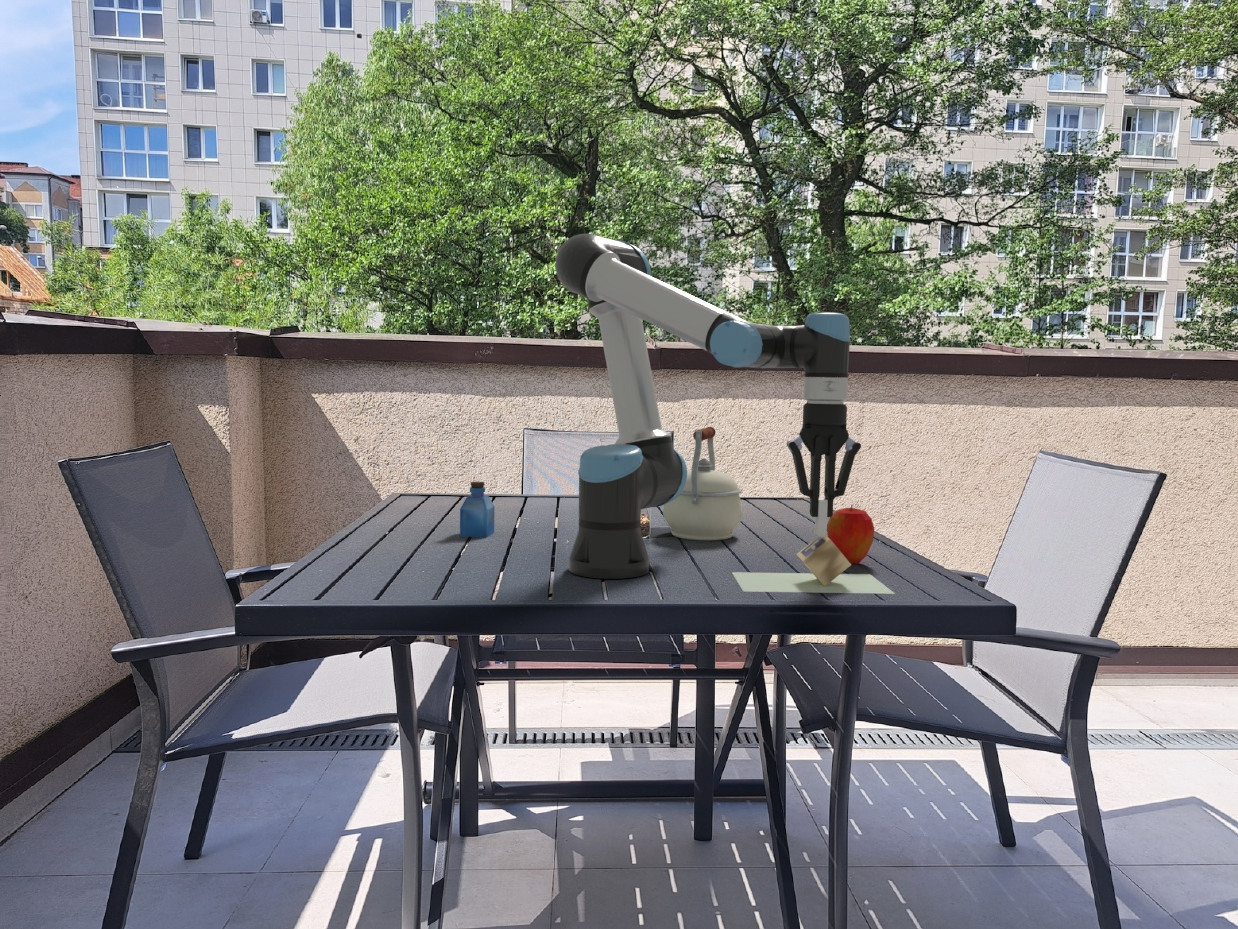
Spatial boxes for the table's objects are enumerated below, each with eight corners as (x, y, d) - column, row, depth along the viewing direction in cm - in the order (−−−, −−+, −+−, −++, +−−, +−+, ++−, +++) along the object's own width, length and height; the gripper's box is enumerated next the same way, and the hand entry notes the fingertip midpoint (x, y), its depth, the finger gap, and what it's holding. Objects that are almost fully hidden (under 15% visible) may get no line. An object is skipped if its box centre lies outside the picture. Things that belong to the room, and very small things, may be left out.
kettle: (733, 546, 198) (737, 432, 195) (652, 540, 203) (654, 429, 200) (750, 528, 222) (753, 426, 219) (676, 523, 227) (679, 423, 224)
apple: (822, 558, 187) (824, 500, 185) (867, 559, 186) (869, 501, 185) (829, 567, 177) (832, 507, 176) (876, 569, 177) (879, 508, 175)
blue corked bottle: (468, 531, 210) (468, 480, 209) (494, 532, 209) (494, 481, 208) (460, 536, 204) (460, 483, 203) (486, 537, 203) (486, 484, 202)
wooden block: (829, 538, 159) (851, 564, 159) (821, 532, 165) (842, 557, 165) (803, 560, 159) (824, 586, 160) (796, 554, 165) (817, 578, 166)
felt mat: (743, 593, 155) (743, 591, 155) (731, 574, 170) (731, 572, 170) (895, 596, 155) (895, 593, 155) (870, 576, 170) (870, 574, 170)
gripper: (792, 402, 155) (787, 538, 158) (868, 403, 156) (862, 539, 158) (784, 401, 163) (780, 531, 165) (856, 402, 163) (851, 532, 165)
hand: (820, 535), depth 162 cm, fingers closed
